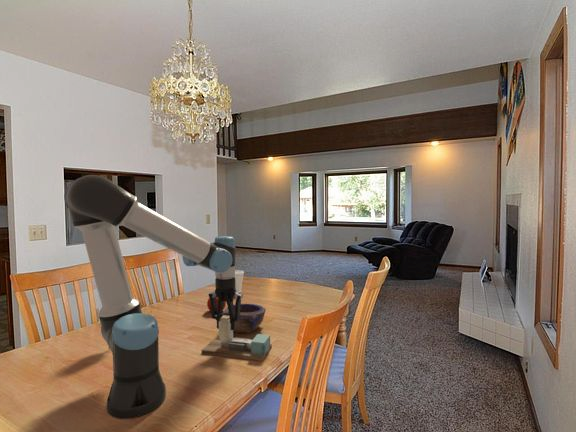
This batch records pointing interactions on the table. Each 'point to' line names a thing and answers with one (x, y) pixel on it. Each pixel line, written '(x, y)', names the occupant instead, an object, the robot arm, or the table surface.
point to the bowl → (248, 317)
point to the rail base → (232, 350)
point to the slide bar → (224, 335)
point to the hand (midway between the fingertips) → (226, 337)
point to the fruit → (216, 302)
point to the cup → (238, 280)
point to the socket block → (260, 344)
